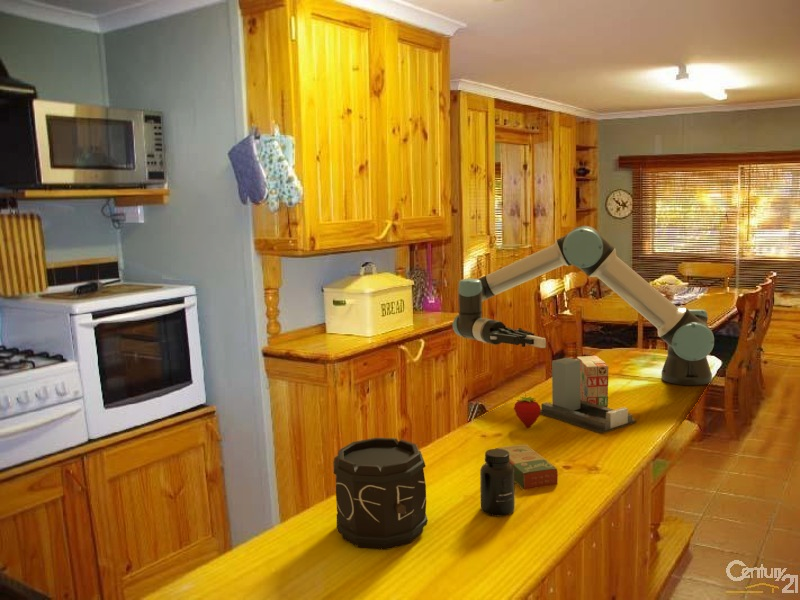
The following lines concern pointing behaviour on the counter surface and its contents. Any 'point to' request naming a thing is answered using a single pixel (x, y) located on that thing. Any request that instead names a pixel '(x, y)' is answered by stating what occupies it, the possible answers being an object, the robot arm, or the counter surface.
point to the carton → (530, 467)
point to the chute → (590, 416)
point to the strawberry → (527, 410)
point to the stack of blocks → (593, 380)
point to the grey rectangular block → (566, 383)
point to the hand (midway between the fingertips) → (543, 343)
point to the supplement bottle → (497, 483)
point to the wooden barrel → (380, 493)
